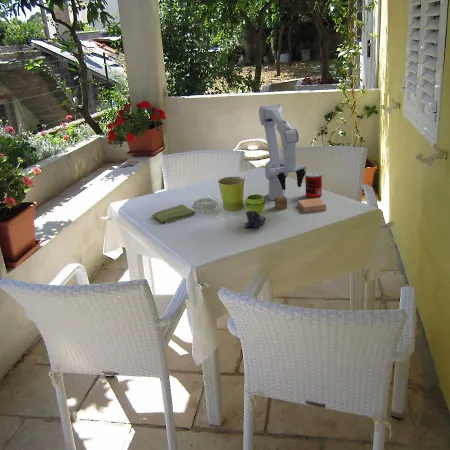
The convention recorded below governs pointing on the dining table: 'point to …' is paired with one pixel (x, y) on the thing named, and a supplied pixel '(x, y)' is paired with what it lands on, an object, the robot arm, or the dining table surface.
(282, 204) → the walnut block
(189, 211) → the washcloth
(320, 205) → the terracotta tile
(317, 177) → the canned food
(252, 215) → the frog
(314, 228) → the dining table surface
